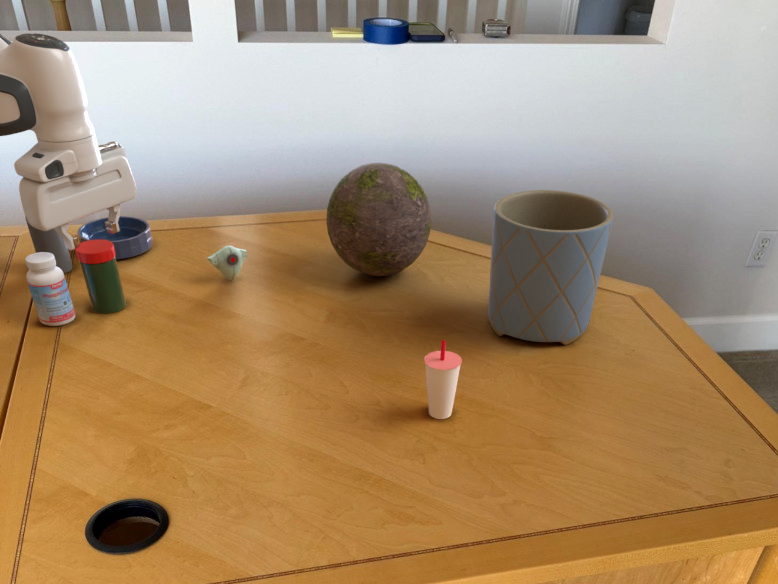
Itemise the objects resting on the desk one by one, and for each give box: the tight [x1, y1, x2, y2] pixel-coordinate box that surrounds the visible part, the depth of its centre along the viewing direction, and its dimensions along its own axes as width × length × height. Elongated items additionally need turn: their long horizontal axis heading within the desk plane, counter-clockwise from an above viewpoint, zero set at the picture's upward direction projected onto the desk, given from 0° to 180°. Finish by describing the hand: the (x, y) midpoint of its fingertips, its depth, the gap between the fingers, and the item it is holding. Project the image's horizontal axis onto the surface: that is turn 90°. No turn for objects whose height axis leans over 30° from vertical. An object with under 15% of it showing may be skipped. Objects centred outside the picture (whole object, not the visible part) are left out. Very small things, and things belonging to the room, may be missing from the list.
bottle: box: [24, 215, 74, 274], centre depth 147 cm, size 6×6×15 cm
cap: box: [74, 239, 116, 264], centre depth 134 cm, size 6×6×2 cm
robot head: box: [206, 245, 248, 280], centre depth 148 cm, size 8×4×7 cm, turn 121°
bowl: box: [76, 215, 154, 260], centre depth 159 cm, size 14×14×4 cm
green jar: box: [79, 257, 127, 314], centre depth 137 cm, size 6×6×11 cm
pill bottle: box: [24, 252, 76, 327], centre depth 133 cm, size 6×6×11 cm
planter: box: [487, 189, 614, 346], centre depth 131 cm, size 19×19×20 cm
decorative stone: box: [325, 162, 432, 277], centre depth 147 cm, size 20×20×20 cm
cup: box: [424, 339, 463, 420], centre depth 112 cm, size 5×5×12 cm
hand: (93, 240), depth 133 cm, fingers open, 7 cm apart
